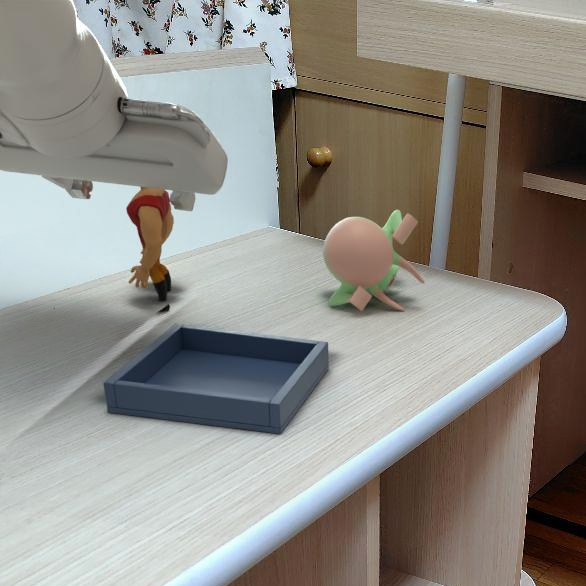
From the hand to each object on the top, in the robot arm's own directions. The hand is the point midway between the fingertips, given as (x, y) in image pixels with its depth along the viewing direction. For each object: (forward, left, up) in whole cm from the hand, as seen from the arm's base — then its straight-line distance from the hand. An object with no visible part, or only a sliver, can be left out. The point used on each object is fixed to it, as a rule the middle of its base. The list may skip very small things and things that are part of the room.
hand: (135, 198), depth 89 cm
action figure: (0, +2, -11) cm, 11 cm away
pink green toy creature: (+19, +11, -11) cm, 25 cm away
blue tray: (+13, -15, -11) cm, 22 cm away
